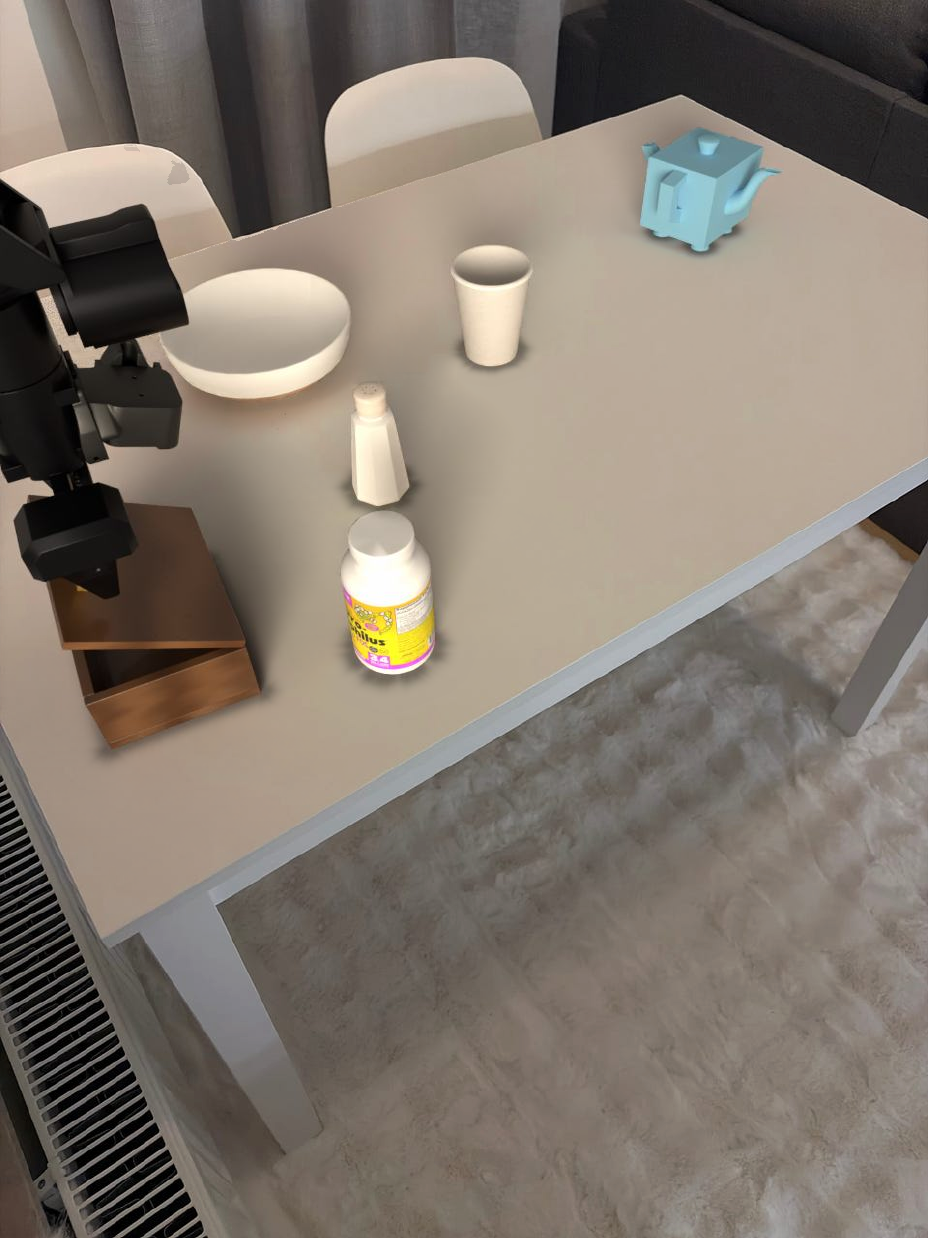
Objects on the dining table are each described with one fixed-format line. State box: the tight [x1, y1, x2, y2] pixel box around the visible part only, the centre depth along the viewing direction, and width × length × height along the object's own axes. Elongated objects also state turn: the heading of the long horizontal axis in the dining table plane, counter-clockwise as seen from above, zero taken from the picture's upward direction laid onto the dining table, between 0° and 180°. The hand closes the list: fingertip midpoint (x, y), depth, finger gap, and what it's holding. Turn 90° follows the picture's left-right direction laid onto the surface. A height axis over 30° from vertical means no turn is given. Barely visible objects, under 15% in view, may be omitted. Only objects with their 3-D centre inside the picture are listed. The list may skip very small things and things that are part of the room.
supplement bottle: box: [339, 510, 436, 675], centre depth 69 cm, size 7×7×13 cm
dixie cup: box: [449, 244, 534, 367], centre depth 96 cm, size 8×8×10 cm
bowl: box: [158, 267, 352, 402], centre depth 96 cm, size 20×20×6 cm
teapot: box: [639, 126, 782, 252], centre depth 110 cm, size 16×18×11 cm
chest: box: [71, 643, 262, 750], centre depth 72 cm, size 12×16×6 cm
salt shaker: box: [350, 381, 410, 507], centre depth 82 cm, size 5×5×11 cm
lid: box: [26, 494, 247, 651], centre depth 66 cm, size 12×16×5 cm
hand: (98, 551), depth 65 cm, fingers open, 9 cm apart
